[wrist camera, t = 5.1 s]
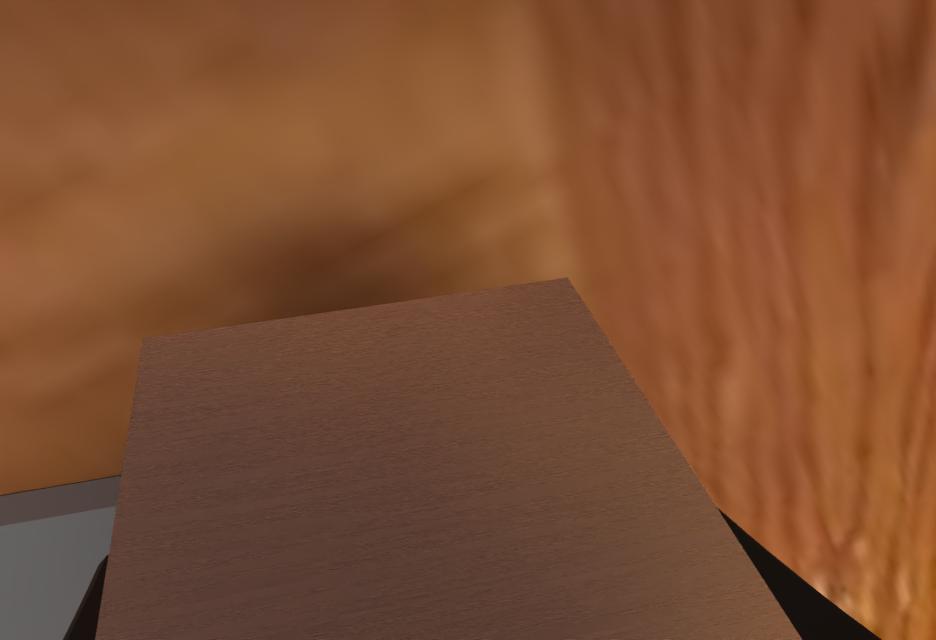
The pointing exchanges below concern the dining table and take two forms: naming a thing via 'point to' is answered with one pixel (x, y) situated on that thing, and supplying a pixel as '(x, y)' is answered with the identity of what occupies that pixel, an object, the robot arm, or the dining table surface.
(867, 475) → the dining table surface
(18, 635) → the block
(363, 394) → the square socket
